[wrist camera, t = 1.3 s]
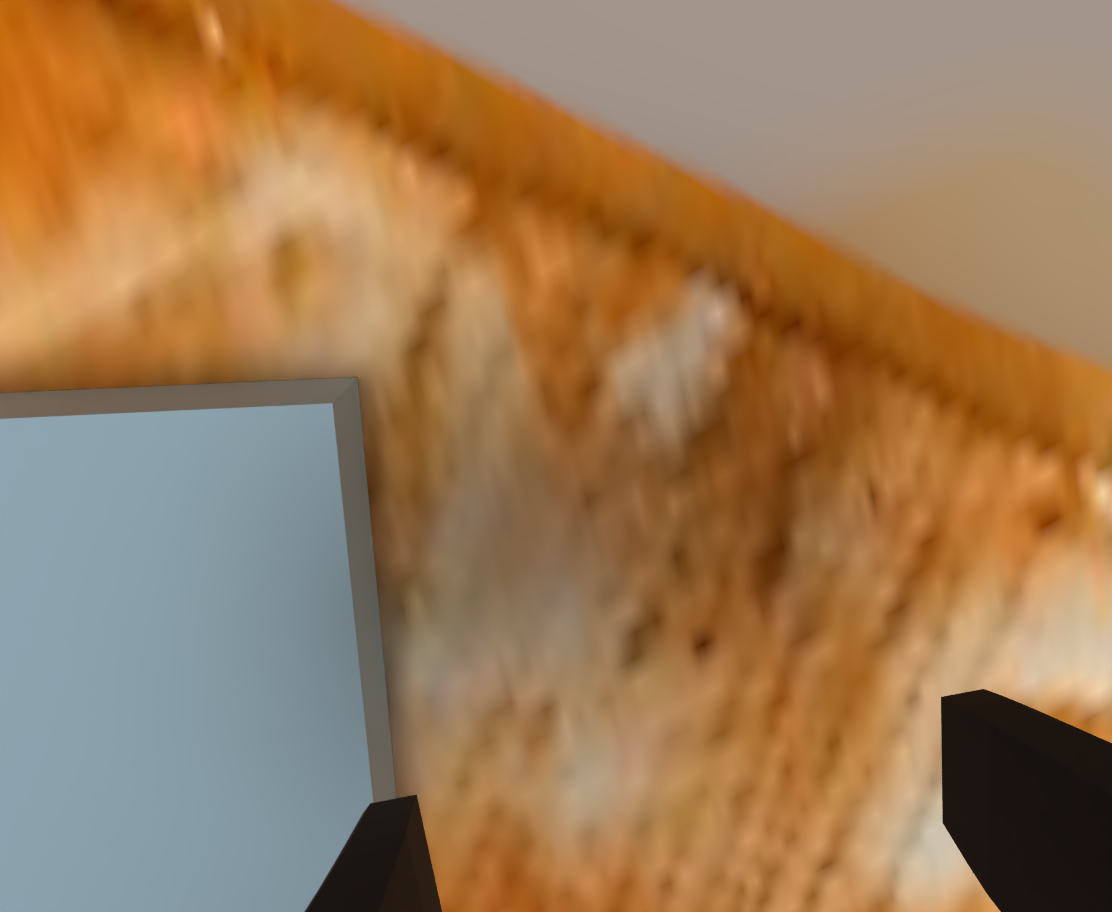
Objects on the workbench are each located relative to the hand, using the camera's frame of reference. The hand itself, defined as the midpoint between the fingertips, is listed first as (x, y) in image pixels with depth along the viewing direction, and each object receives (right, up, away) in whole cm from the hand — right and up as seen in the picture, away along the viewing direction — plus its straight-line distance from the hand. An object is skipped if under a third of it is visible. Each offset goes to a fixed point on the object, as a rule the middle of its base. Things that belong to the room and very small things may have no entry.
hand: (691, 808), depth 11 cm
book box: (-10, +1, +8) cm, 13 cm away
